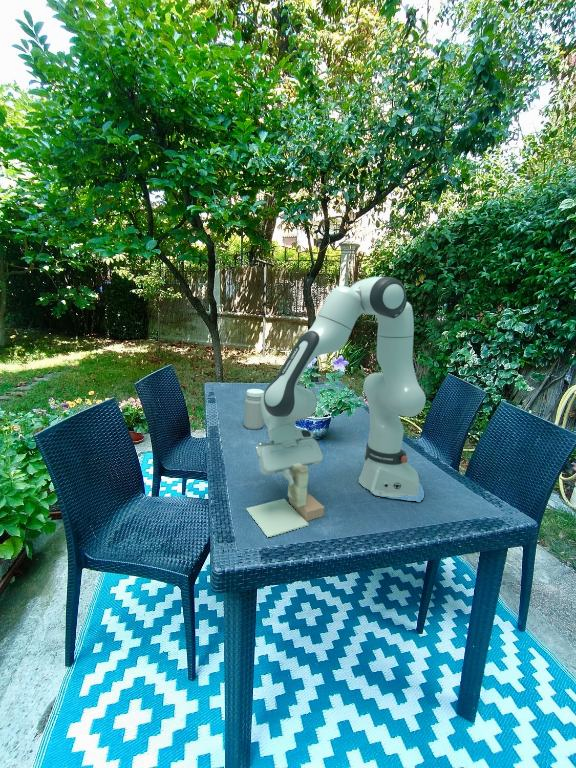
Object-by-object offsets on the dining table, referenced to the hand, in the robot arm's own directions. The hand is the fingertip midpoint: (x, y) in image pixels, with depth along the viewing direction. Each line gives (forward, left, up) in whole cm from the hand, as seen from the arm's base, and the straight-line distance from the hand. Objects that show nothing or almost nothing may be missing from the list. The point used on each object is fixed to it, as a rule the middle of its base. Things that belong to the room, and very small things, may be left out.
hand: (299, 483), depth 102 cm
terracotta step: (-2, -3, -10) cm, 11 cm away
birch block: (0, 0, -6) cm, 6 cm away
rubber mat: (+5, +4, -10) cm, 12 cm away
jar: (+41, -59, -10) cm, 73 cm away
